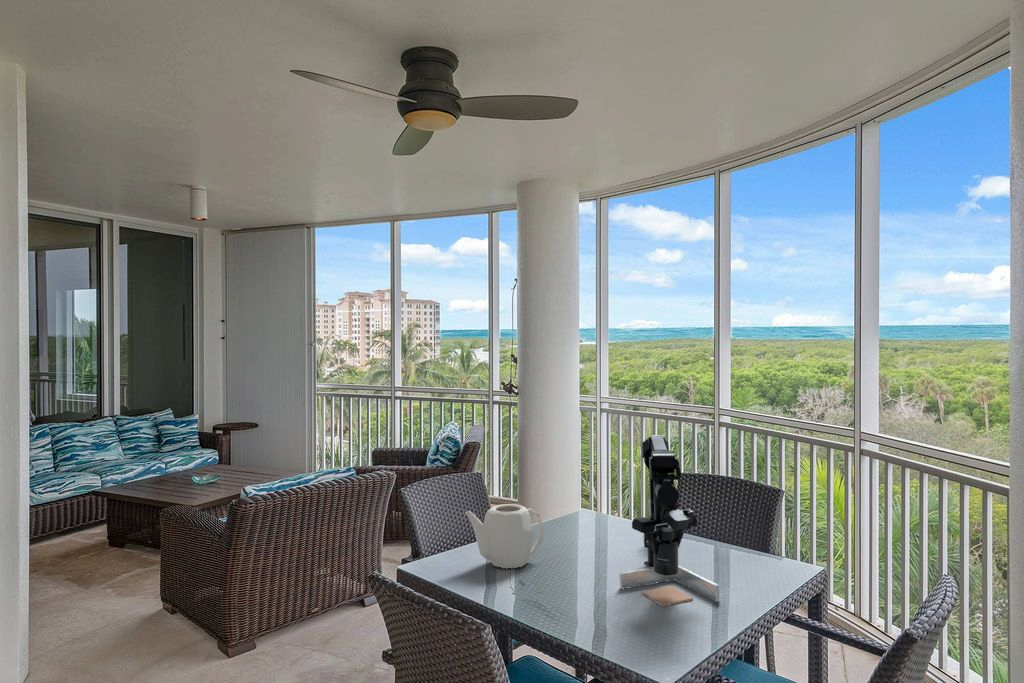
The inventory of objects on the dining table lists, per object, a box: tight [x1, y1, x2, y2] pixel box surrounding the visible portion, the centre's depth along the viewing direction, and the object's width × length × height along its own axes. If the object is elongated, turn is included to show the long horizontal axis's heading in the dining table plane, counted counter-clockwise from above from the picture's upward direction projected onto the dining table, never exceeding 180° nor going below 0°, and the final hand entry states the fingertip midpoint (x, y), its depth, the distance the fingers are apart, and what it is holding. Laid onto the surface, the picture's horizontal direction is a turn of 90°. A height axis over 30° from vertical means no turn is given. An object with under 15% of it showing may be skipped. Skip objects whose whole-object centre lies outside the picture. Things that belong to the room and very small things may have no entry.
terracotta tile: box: [641, 585, 693, 607], centre depth 173 cm, size 10×10×1 cm
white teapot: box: [464, 503, 544, 570], centre depth 203 cm, size 16×27×19 cm, turn 105°
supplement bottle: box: [654, 527, 679, 576], centre depth 173 cm, size 7×7×12 cm
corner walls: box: [619, 564, 720, 603], centre depth 174 cm, size 20×20×4 cm
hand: (665, 552), depth 173 cm, fingers closed on supplement bottle, 7 cm apart
